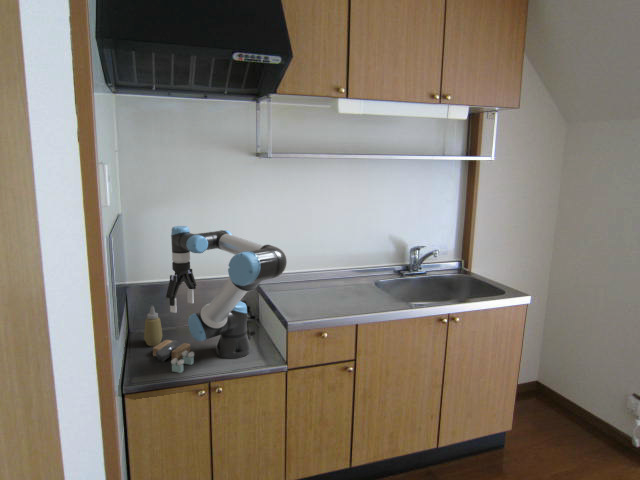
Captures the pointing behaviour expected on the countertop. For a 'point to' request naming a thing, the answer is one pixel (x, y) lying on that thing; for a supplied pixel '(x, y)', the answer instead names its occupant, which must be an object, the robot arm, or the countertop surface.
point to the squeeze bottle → (152, 328)
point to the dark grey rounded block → (167, 350)
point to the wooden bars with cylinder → (175, 353)
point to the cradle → (182, 361)
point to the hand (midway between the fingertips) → (182, 307)
